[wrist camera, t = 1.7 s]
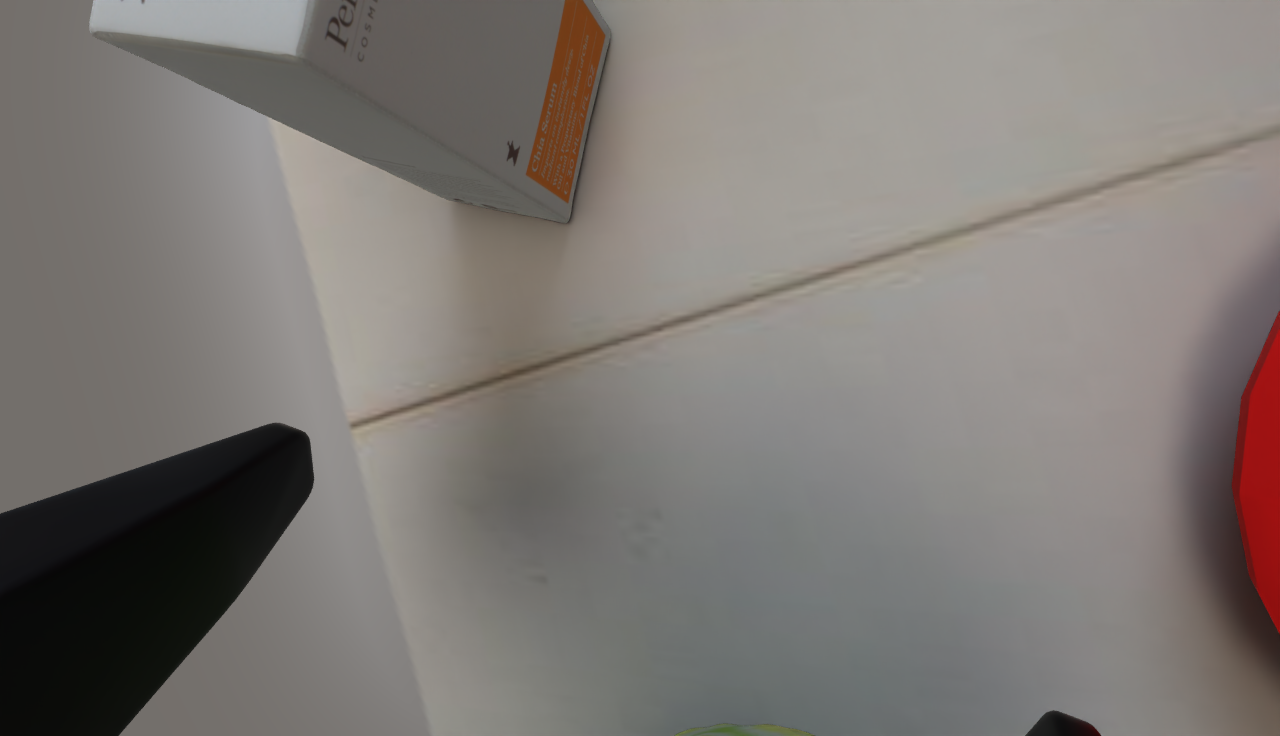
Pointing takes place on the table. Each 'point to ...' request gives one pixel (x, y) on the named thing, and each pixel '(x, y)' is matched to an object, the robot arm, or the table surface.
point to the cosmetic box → (400, 82)
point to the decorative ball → (743, 731)
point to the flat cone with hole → (1261, 474)
